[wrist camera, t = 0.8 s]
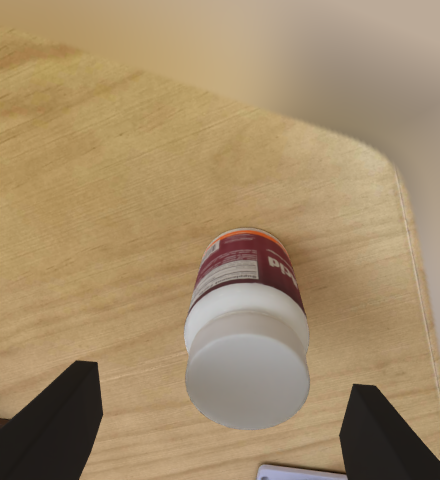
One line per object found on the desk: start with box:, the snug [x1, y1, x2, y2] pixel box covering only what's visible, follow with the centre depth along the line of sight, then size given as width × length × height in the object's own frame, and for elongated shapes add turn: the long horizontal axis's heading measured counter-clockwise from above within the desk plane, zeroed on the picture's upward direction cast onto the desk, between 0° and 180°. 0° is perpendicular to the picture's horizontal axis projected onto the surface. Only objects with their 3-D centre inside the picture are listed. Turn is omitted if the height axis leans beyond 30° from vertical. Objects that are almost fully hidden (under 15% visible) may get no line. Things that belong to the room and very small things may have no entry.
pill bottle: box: [184, 228, 310, 430], centre depth 15 cm, size 5×5×8 cm
